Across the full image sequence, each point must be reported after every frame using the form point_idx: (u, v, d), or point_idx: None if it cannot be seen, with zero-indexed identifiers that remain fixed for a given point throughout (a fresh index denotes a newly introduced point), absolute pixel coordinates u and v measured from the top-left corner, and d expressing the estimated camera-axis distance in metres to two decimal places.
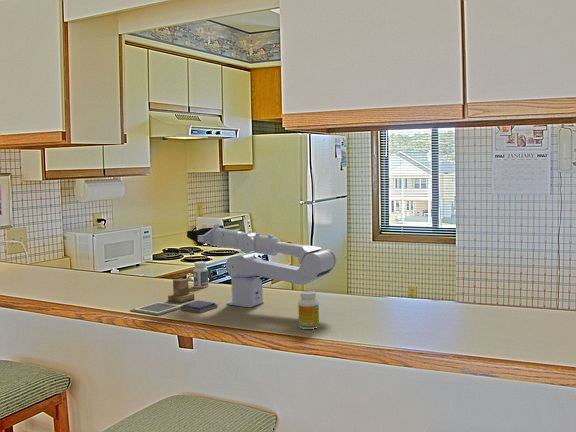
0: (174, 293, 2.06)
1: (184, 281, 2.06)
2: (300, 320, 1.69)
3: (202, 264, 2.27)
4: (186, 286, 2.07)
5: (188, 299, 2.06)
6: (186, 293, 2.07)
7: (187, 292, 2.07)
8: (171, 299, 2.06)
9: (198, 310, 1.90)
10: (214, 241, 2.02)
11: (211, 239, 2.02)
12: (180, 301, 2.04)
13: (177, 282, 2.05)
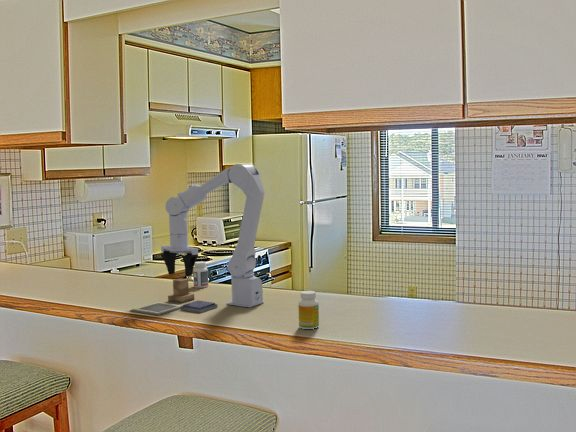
0: (174, 293, 2.06)
1: (184, 281, 2.06)
2: (300, 320, 1.69)
3: (202, 264, 2.27)
4: (186, 286, 2.07)
5: (188, 299, 2.06)
6: (186, 293, 2.07)
7: (187, 292, 2.07)
8: (171, 299, 2.06)
9: (198, 310, 1.90)
10: (187, 243, 2.05)
11: (186, 247, 2.05)
12: (180, 301, 2.04)
13: (177, 282, 2.05)
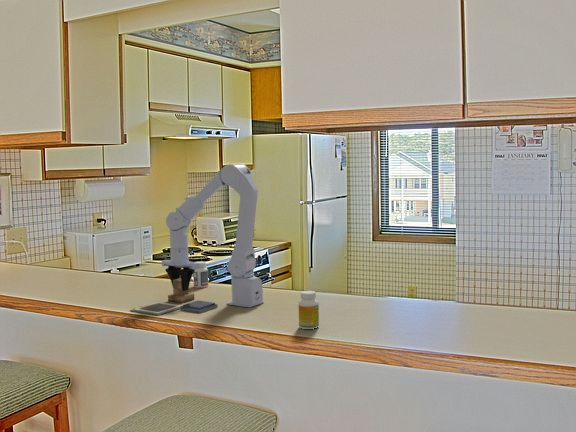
0: (174, 293, 2.06)
1: None
2: (300, 320, 1.69)
3: (202, 264, 2.27)
4: None
5: (188, 299, 2.06)
6: (186, 293, 2.07)
7: (187, 292, 2.07)
8: (171, 299, 2.06)
9: (198, 310, 1.90)
10: (188, 258, 2.06)
11: (187, 261, 2.05)
12: (180, 301, 2.04)
13: (177, 282, 2.05)
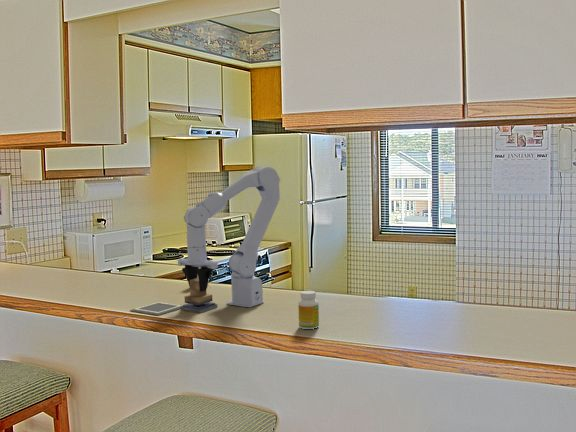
0: (191, 294, 1.94)
1: None
2: (300, 320, 1.69)
3: None
4: None
5: (206, 300, 1.93)
6: (204, 294, 1.94)
7: (205, 293, 1.95)
8: (188, 300, 1.93)
9: (198, 310, 1.90)
10: (206, 257, 1.93)
11: (205, 260, 1.93)
12: (198, 302, 1.91)
13: (194, 282, 1.93)
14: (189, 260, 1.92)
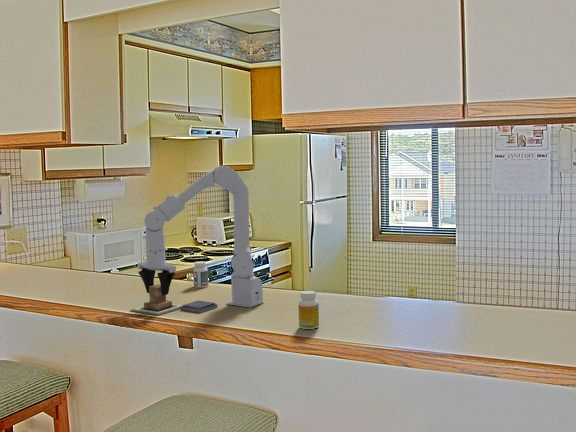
0: (150, 300, 1.95)
1: None
2: (300, 320, 1.69)
3: (202, 264, 2.27)
4: None
5: (165, 307, 1.94)
6: (163, 300, 1.95)
7: (164, 299, 1.96)
8: (147, 307, 1.94)
9: (198, 310, 1.90)
10: (164, 260, 1.94)
11: (164, 264, 1.94)
12: (156, 309, 1.92)
13: (153, 289, 1.94)
14: (148, 264, 1.93)
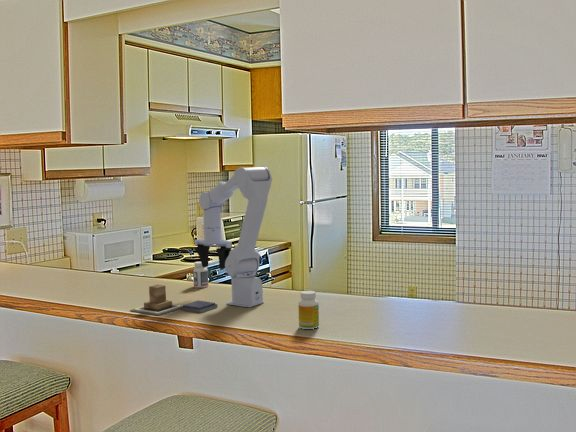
0: (150, 300, 1.95)
1: (161, 287, 1.94)
2: (300, 320, 1.69)
3: None
4: (163, 293, 1.95)
5: (165, 307, 1.94)
6: (163, 300, 1.95)
7: (164, 299, 1.96)
8: (147, 307, 1.94)
9: (198, 310, 1.90)
10: (220, 237, 2.11)
11: (220, 240, 2.11)
12: (156, 309, 1.92)
13: (153, 289, 1.94)
14: (205, 240, 2.10)
